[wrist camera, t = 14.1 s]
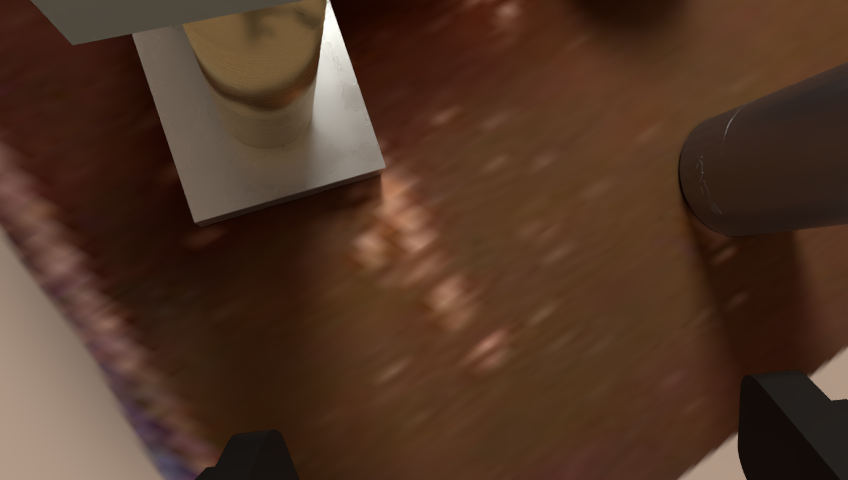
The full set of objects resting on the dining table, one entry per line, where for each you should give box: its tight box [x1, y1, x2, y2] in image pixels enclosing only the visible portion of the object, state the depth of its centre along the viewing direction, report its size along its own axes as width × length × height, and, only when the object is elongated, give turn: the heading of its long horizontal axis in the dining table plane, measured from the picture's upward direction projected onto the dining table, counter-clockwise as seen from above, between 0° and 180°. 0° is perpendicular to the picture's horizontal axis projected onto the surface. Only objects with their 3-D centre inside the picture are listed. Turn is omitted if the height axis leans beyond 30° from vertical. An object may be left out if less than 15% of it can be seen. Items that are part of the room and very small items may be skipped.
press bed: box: [132, 0, 386, 227], centre depth 30 cm, size 11×11×2 cm
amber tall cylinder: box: [182, 0, 327, 149], centre depth 22 cm, size 5×5×14 cm
